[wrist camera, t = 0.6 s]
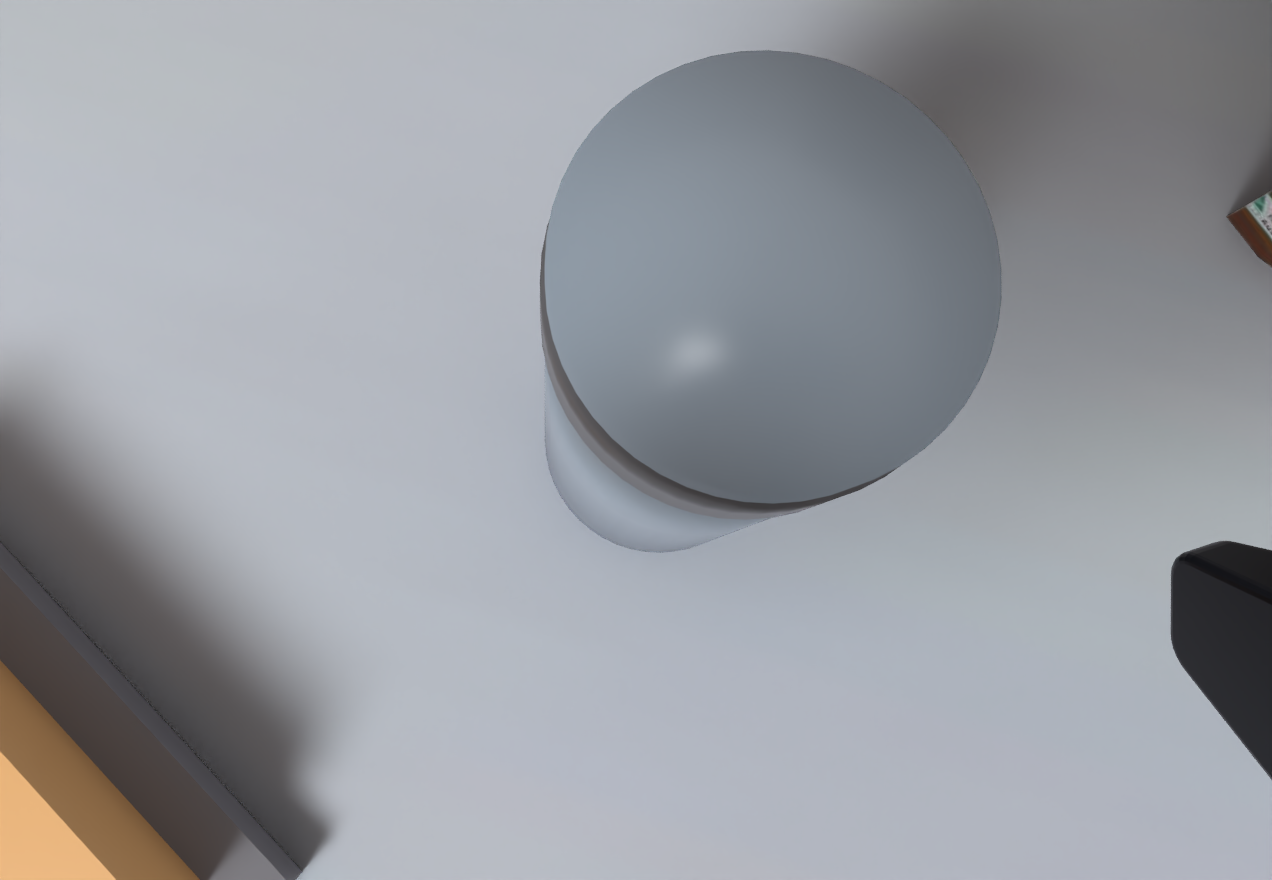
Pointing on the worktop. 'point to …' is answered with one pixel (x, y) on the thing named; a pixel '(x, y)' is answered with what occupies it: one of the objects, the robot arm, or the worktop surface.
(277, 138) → the worktop surface
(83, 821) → the dock
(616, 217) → the canister
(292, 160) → the worktop surface
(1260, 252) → the food container
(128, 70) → the worktop surface
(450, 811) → the worktop surface
